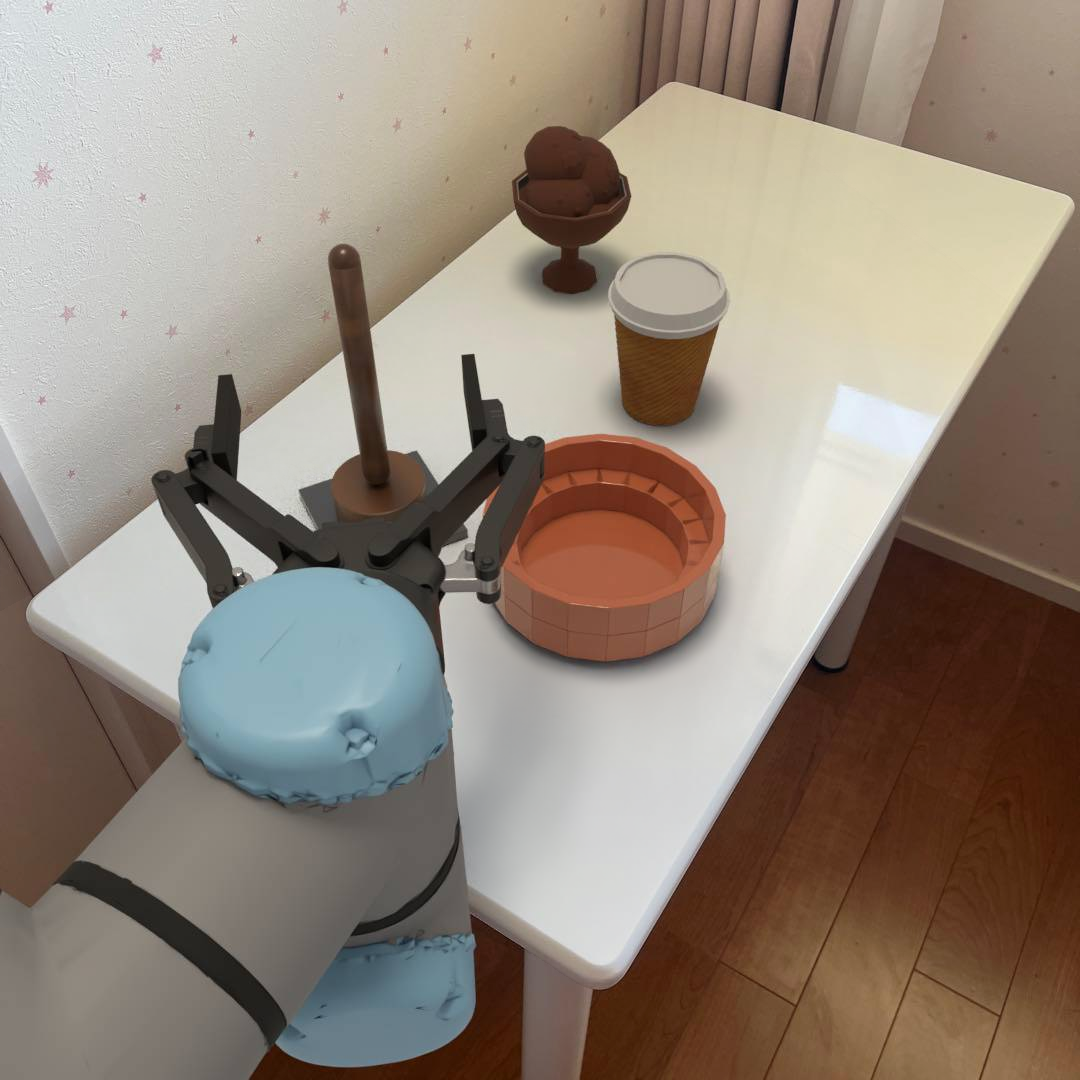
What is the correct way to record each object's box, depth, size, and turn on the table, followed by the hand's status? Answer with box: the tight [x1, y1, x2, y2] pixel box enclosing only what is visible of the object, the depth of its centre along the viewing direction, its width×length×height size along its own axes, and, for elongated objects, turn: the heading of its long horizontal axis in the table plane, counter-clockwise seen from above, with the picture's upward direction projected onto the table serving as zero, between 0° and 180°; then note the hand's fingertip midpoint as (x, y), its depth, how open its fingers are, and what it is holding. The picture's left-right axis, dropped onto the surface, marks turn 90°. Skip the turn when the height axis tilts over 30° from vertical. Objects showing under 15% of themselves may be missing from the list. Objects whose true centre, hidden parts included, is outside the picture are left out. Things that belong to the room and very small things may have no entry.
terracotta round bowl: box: [482, 433, 727, 662], centre depth 78 cm, size 17×17×6 cm
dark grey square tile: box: [298, 449, 469, 547], centre depth 85 cm, size 10×10×1 cm
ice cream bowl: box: [511, 125, 632, 295], centre depth 102 cm, size 11×11×15 cm
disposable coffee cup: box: [607, 251, 731, 427], centre depth 90 cm, size 10×10×12 cm
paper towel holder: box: [327, 243, 427, 523], centre depth 76 cm, size 7×7×23 cm
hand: (350, 382), depth 63 cm, fingers open, 13 cm apart
